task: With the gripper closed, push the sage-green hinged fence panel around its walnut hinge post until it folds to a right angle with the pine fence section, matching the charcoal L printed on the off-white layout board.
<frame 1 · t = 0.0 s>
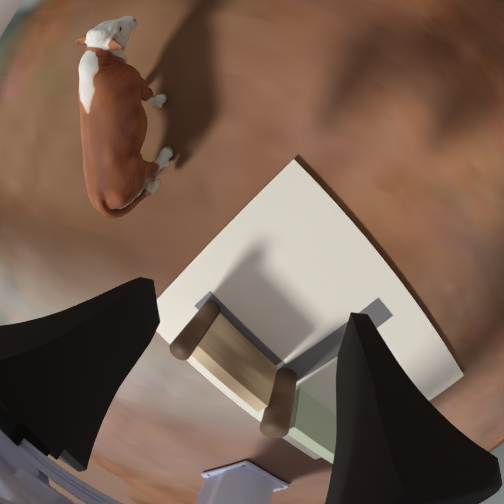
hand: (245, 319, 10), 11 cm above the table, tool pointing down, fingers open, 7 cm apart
layout board: (313, 356, 22), on the table
bull figurine: (153, 120, 20), on the table
hinged panel: (321, 435, 20), point 4 cm above the table, hinge at 0.0°
fixed fence: (285, 377, 22), resting on layout board
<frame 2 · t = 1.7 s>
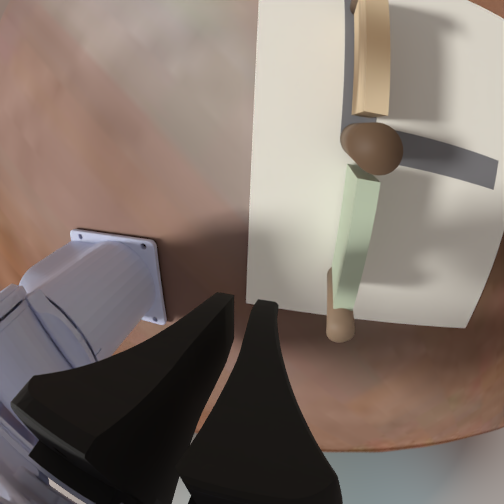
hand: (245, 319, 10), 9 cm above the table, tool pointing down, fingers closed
layout board: (404, 149, 14), on the table
hinged panel: (350, 248, 14), point 4 cm above the table, hinge at 0.0°
fixed fence: (357, 140, 15), resting on layout board
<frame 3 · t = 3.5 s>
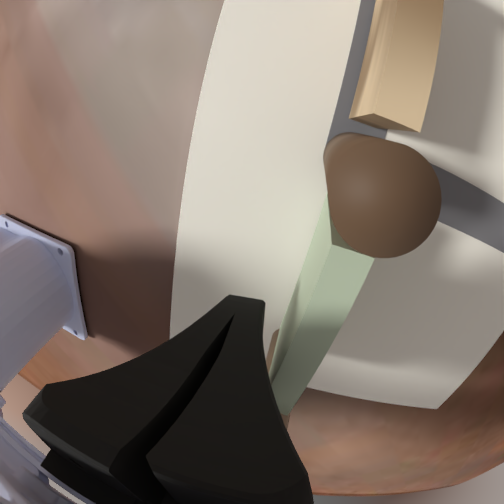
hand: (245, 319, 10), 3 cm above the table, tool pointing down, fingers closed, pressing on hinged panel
layout board: (418, 184, 10), on the table
hinged panel: (303, 329, 9), point 4 cm above the table, hinge at 0.0°, touching gripper
fixed fence: (350, 159, 10), resting on layout board
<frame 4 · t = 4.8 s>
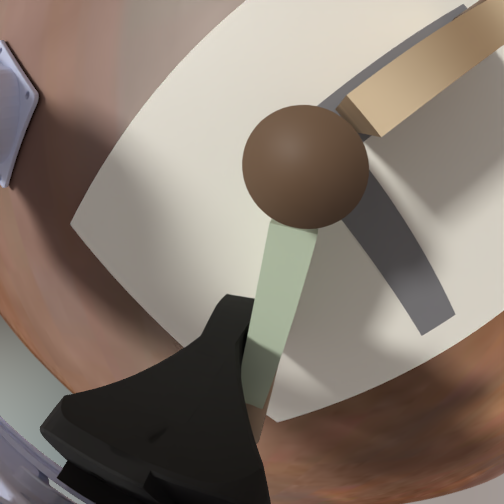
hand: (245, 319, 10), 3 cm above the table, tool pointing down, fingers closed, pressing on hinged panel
layout board: (364, 205, 10), on the table
hinged panel: (272, 319, 9), point 4 cm above the table, hinge at 37.9°, touching gripper
fixed fence: (314, 144, 10), resting on layout board
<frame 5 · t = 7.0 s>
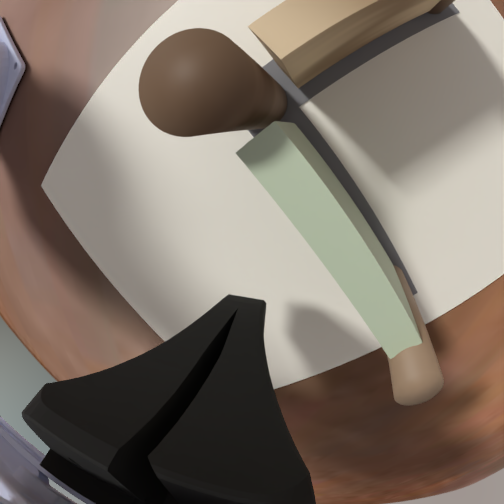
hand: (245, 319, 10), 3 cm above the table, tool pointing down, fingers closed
layout board: (311, 165, 10), on the table
hinged panel: (356, 250, 8), point 4 cm above the table, hinge at 90.9°
fixed fence: (259, 102, 9), resting on layout board
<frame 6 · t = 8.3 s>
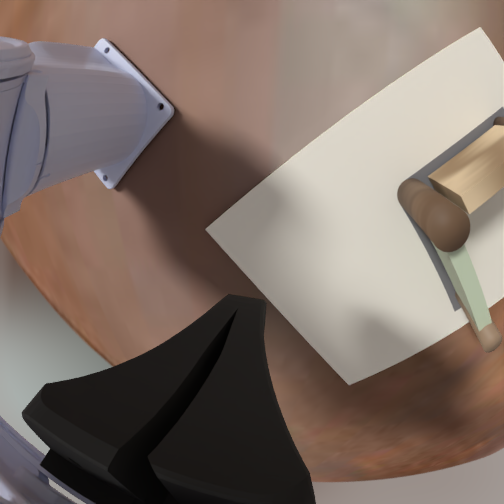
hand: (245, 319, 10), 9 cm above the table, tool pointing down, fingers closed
layout board: (431, 230, 16), on the table
hinged panel: (464, 282, 13), point 4 cm above the table, hinge at 91.0°
fixed fence: (412, 194, 15), resting on layout board
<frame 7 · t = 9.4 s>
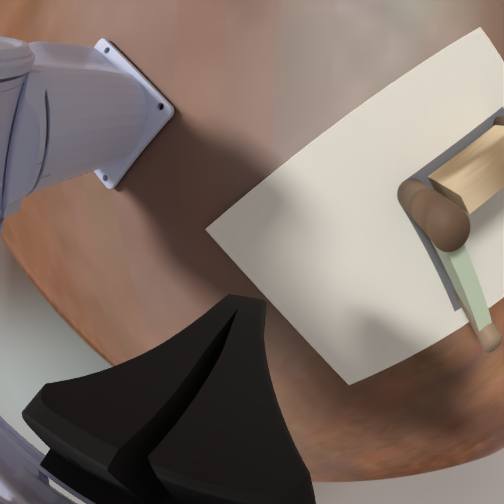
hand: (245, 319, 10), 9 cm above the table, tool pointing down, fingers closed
layout board: (431, 230, 16), on the table
hinged panel: (464, 282, 13), point 4 cm above the table, hinge at 91.0°
fixed fence: (412, 194, 15), resting on layout board
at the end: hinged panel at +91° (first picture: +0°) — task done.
